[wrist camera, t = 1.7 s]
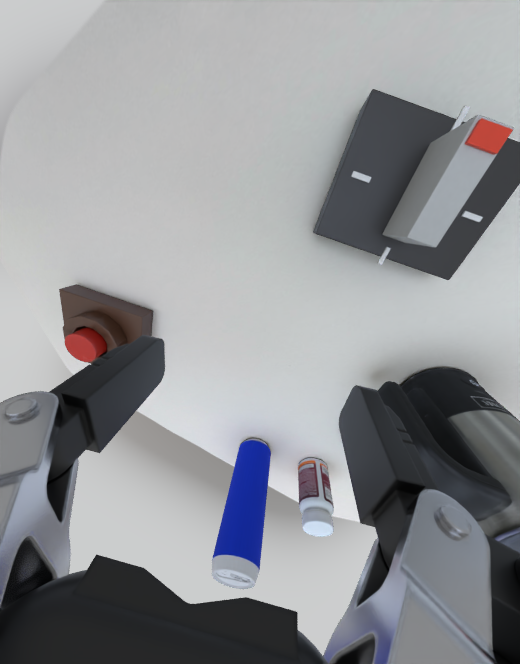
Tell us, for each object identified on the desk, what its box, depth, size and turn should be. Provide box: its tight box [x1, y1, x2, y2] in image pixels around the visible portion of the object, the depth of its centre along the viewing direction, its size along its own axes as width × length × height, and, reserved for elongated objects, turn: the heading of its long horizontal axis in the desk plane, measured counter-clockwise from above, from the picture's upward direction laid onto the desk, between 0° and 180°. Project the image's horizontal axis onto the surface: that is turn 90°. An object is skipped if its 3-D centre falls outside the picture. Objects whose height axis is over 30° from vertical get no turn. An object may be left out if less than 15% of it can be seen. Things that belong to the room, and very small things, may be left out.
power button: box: [65, 328, 107, 362], centre depth 25 cm, size 4×4×2 cm
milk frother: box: [378, 368, 520, 553], centre depth 22 cm, size 14×16×15 cm
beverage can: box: [212, 438, 271, 589], centre depth 29 cm, size 5×5×15 cm
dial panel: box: [313, 89, 520, 280], centre depth 17 cm, size 12×10×3 cm
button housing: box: [59, 285, 153, 364], centre depth 27 cm, size 10×9×4 cm
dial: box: [382, 115, 514, 247], centre depth 14 cm, size 6×2×4 cm, turn 163°
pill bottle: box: [298, 458, 334, 537], centre depth 32 cm, size 5×5×8 cm
